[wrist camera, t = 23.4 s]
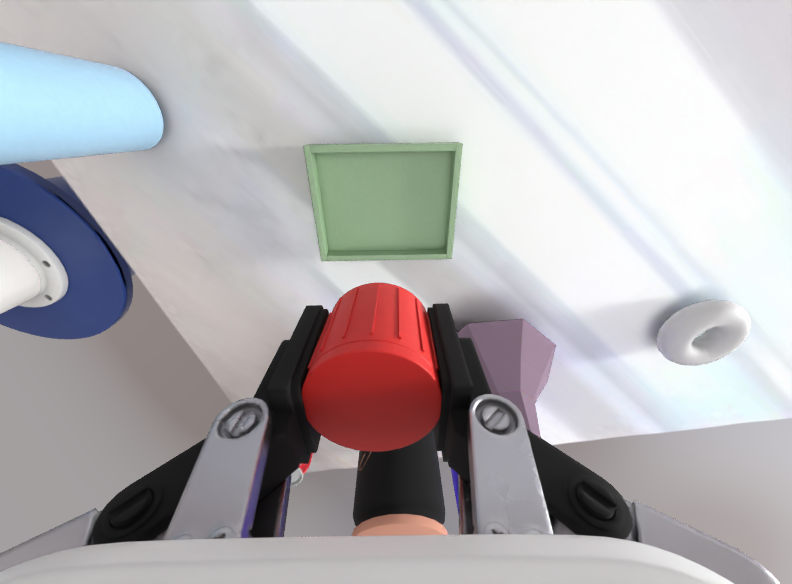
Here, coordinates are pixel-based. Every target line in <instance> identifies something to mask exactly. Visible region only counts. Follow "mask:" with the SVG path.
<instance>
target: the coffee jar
mask: <svg viewBox="0 0 792 584" xmlns="http://www.w3.org/2000/svg"><path fill="white" fill-rule="evenodd" d="M353 519H354V522H355V525H356V527H355V529H354V531H353V533H352V535H351V536H391V535H448V533H447V531H446V529H445V528H444V526H443V523H444V521H445V506H444V499H443V491H442V484H441V477H440V469H439V462H438V454H437V451H436V448H435V441H434V433H433V429H432V430H431V431H430V432H429V433H428V434H427V435H426V436H424V437H423V438H422V439H420V440H418V441H417V442H415V443H413V444H411V445H408V446H405V447H403V448H399V449H395V450H389V451H379V452H378V451H361V450H360V451H359V461H358V471H357V481H356V490H355V500H354V510H353Z"/></svg>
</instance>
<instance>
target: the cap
mask: <svg viewBox="0 0 792 584" xmlns="http://www.w3.org/2000/svg"><path fill="white" fill-rule="evenodd" d="M307 369H308V370H309V372H308V374H307V377H306V379H305V382H304V384H303V387H302V399H303V403H304V408H305V412H306V417H307V420H308V422H309V423H310V424H311V426H312V427H313V428H314V429H315V430H316V431H317V432H318V433H320V434H321V435H322V436H324V437H325V438H327V439H328V440H330V441H332V442H334V443H336V444H338V445H341V446H344V447H347V448H351V449H355V450H361V451H378V452H379V451H389V450H395V449H399V448H403V447H405V446H408V445H411V444H413V443H415V442H417V441H418V440H420V439H422V438H423V437H424V436H426V435H427V434H428V433H429V432H430V431H431V430H432V429H433V428H434V426H435V425H436V424H437V422H438V420H439V418H440V412H441V400H442V391H441V386H440V380H439V375H438V370H439V367H438V362H437V357H436V352H435V347H434V342H433V336H432V331H431V326H430V321H429V317H428V313H427V312H426V310H425V308H424V306H423V305H422V303H421V302H420V301H419V299H418V298H416V297H415V296H414V295H413V294H412V293H410V292H409V291H407V290H405V289H403V288H401V287H399V286H396V285H392V284H387V283H369V284H365V285H361V286H358V287H356V288H354V289H352V290H350V291H348V292H347V293H346V294H344V295H343V296H342V297H340V298H339V300H338V302H337V303H336V305H335V307H334V308H333V311H332V313H330V314H329V316H328V319H327V321H326V324H325V326H324V329H323V331H322V333H321V336H320V338H319V341H318V343H317V346H316V348H315V351H314V353H313V356H312V358H311V360H310V363H309V365H308V368H307Z"/></svg>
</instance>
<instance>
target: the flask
mask: <svg viewBox="0 0 792 584" xmlns="http://www.w3.org/2000/svg"><path fill="white" fill-rule="evenodd" d="M457 334H458V337H459V338H466V337H470V338H471V339H472V341H473V344H474V347H475V349H476V352H477V355H478V357H479V360H480V363H481V366H482V368H483V371H484V374H485V377H486V379H487V382H488V385H489V387H490V390H491V393H492V394H493V395H498V396H501V397H503V398H506V399H508V400H509V401H511V402H512V403H513V404H514V405H516V407H517V408H518V409H519V410H520V411H521V413H522V416H523V418H524V421H525V425H526V429H528V430H529V431H531V432H532V433H534V434H535V435H537V436H538V437H540V438H541V436H540V431H539V425H538V420H537V414H536V408H535V403H536V400H537V398H538V396H539V394H540V393H541V391H542V390H543V388H544V386H545V385H546V383H547V381H548V377H549V373H550V368H551V364H552V360H553V355H554V351H555V347H556V345H555V344H554V343H552V342H551V341H550V340H549V339H547V338H546V337H545V336H544V335H542V334H541V333H540V332H539V331H537V330H536V329H535V328H534V327H532V326H531V325H530V324H529V323H527V322H526V321H525V320H524V319H516V320H503V321H491V322H480V323H469V324H467V325H466V326H465V327H463V328H462V329H461V330H460V331H459V332H458V333H457Z"/></svg>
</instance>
